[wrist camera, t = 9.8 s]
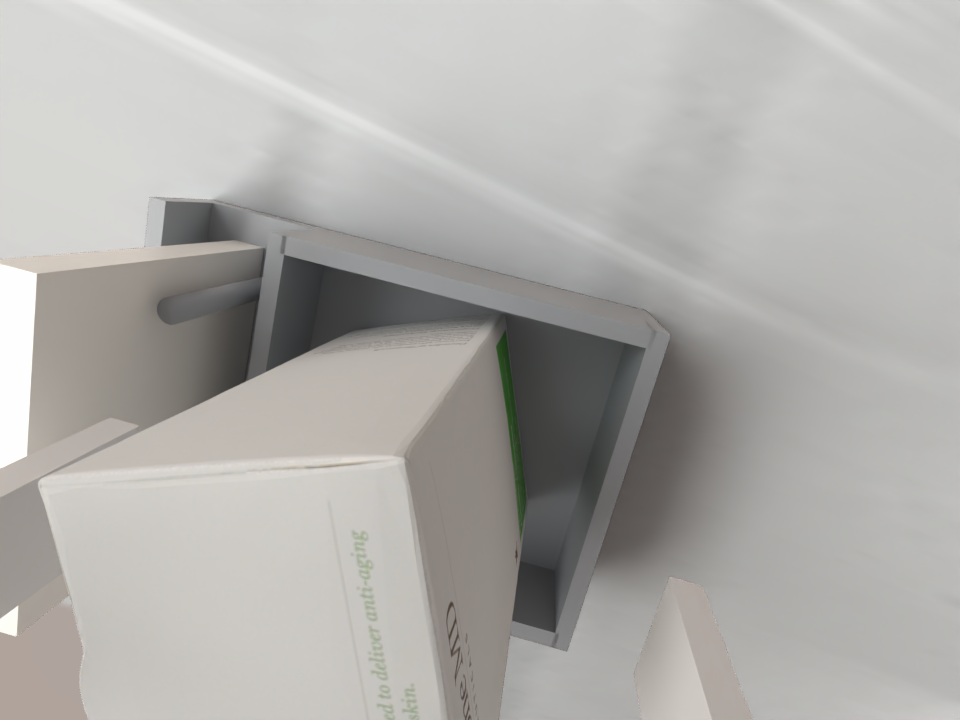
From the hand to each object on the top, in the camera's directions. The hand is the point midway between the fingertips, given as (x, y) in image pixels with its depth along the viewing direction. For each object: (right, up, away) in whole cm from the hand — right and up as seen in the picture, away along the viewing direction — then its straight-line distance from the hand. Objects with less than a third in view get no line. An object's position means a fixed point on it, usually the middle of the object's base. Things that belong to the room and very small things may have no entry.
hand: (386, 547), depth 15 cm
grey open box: (-1, +3, +11) cm, 12 cm away
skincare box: (0, +2, +10) cm, 11 cm away
